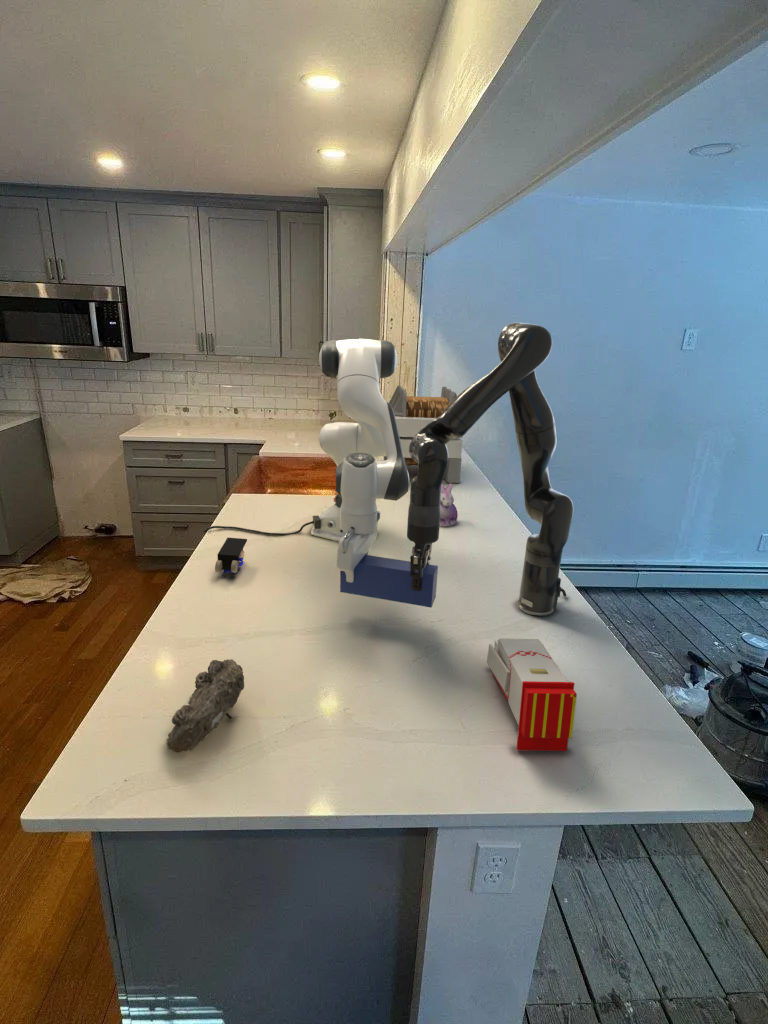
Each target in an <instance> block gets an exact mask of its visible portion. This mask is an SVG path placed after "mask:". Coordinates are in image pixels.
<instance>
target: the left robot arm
mask: <svg viewBox="0 0 768 1024" xmlns="http://www.w3.org/2000/svg"><path fill="white" fill-rule="evenodd" d="M318 364H319V367H320V369H321V372H322V374H323V375H324V376H325V377H327V378H331V379H334V380H335V379H337V382H336V391H337V392H336V393H337V400H338V404H339V406H340V407H339V408H341V410H342V412H343V413H344V414H345V416H347V417H348V418H350V419H352V420H353V421H355V422H348V421H336V422H330V423H325V424H324V425H323V426H322V427H321V429H320V431H319V434H318V442H319V446H320V448H321V450H322V451H323V452H324V453H325V454H327V455H328V456H329V457H330V459H332V461H333V462H334V464H335V465H336V468H335V470H334V471H335V472H334V473H335V474H334V475H335V488H334V491H335V492H336V493H337V494H336V495H335V496H334V497H333V502H334V504H333V505H331V506H329V507H328V508H326V509H325V510H323V512H321V514H320V515H312V521H309V522H306V523H303V524H302V525H301V526H300V528H299V529H298V530H296V531H294V532H293V531H292V532H288V533H286V532H285V533H283V532H267V531H260V530H255V529H250V528H245V527H239V526H228V525H227V526H226V525H225V526H223V525H212V526H209V527H206V528H205V529H204V530H203V533H207V532H208V531H210V530H212V529H227V530H228V529H229V530H239V531H244V532H250V533H256V534H261V535H267V536H290V535H296V534H299V533H301V532H302V531H303V529H304V528H305V527H307V526H309V525H312V528H311V530H310V533H311V536H315V537H319V538H323V539H326V540H330V541H336V542H338V546H337V555H336V556H337V557H336V568H337V570H338V571H340V570H341V571H345V574H346V581H347V582H351V583H352V582H353V581H354V580H355V574H354V568H355V567H356V565H357V564H358V563H359V562H360V560H361V559H362V558H363V557H364V556H365V555H369V554H370V550H371V548H372V547H373V546H374V545H375V543H376V541H377V535H378V526H379V520H380V519H381V511H379V510H378V506H377V503H376V500H377V499H378V500H379V499H381V500H387V501H396V502H397V501H399V500H400V499H401V498H402V497H404V496H405V495H406V494H407V493H408V492H409V488H410V484H411V483H410V482H411V481H410V475H409V471H408V467H407V465H406V463H405V460H404V456H403V452H402V447H401V442H400V437H399V432H398V427H397V423H396V419H395V415H394V411H393V408H392V406H391V404H390V403H389V402H388V401H386V399H384V397H383V395H382V393H381V390H380V379H387V378H389V377H391V376H392V375H393V374H394V373H395V370H396V368H397V365H398V353H397V351H396V348H395V345H394V343H392V342H391V341H389V340H385V339H381V340H377V339H371V338H357V339H356V338H351V339H340V340H336V339H330V340H327V341H325V342H323V344H321V348H320V351H319V355H318ZM384 456H387V460H385V461H384V460H376V458H382V457H383V458H384Z"/></svg>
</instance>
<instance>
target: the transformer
mask: <svg viewBox="0 0 768 1024" xmlns="http://www.w3.org/2000/svg"><path fill="white" fill-rule="evenodd" d="M440 393H441V394H440V396H415V395H414V396H413V395H412V396H411V395H407V394H408V393H407V390H406V389H404V388H403V387H402V385H399V384H398V385H397V386H396V388H395V390H394V392H393V394H392V395H391V398H390V400H389V402H388V403H390V404H391V406H392V408H393V411H394V415H395V419H396V423H397V427H398V432H399V437H400V442H401V447H402V452H403V456H404V460H405V463H406V467H407V466H411V467H412V466H413V467H415V466H416V467H418V463H417V462H416V461H414V460H413V459H412V457H411V456H410V453H409V445H410V443H411V441H412V439H413V437H414V436H415V435H416V434H417V433H418V432H419V431H420V430H421V429H422V428H424V427H425V426H426V425H428V424H429V423H430V422H431V421H433V420H434V419H436V418H437V417H439V416H440V415H441V414H442V413H443V411H444V410H445V409H446V408H447V407H448V406H449V405H450V404H451V403H452V402H453V400H454V399H455V398H456V397H457V396H458V395H457V392H455V391H453V390H452V389H451V388H447V386H442V387H441V392H440ZM463 438H464V436H462V437H461V438H458V439H452V440H450V441H449V442H448V443H447V444H445V445H446V446H447V449H448V465H447V469H446V472H445V476H444V479H445V481H446V482H447V483H449V484H450V483H452V484H455V483H456V484H459V483H461V472H462V461H463V460H462V453H463V442H464V441H463V440H462V439H463ZM385 460H387V456H383V461H385Z"/></svg>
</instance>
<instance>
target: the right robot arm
mask: <svg viewBox="0 0 768 1024" xmlns="http://www.w3.org/2000/svg"><path fill="white" fill-rule="evenodd" d="M552 348H553V338H552V335H551V332H550V331H549V330H548V329H547V328H546V327H544V326H542V325H539V324H535V323H527V322H511V323H509V324H507V325H506V326H505V327H504V328H503V329H502V330H501V332H500V334H499V336H498V340H497V352H498V356H499V361H500V363H499V364H498V365H497V366H496V367H494V368H493V369H492V370H490V371H489V372H488V373H487V374H486V375H484V376H483V377H481V378H480V379H478V380H477V381H475V382H474V383H472V384H471V385H469V386H468V387H466V388H465V389H464V390H463V391H462V392H460V393H459V394H458V395H457V397H456V398H455V399H454V400H453V402H452V403H451V404H450V405H449V406H448V407H447V408H446V409H445V410H444V411H443V413H442V414H441V415H440V416H439V417H437V418H436V419H434V420H433V421H431V422H430V423H429V424H428V425H426V426H425V427H424V428H422V429H421V430H420V431H419V432H418V433H417V434H416V435H415V436H414V437H413V439H412V441H411V443H410V445H409V453H410V456H411V457H412V459H413V460H414V461H416V462H417V463H418V466H417V473H416V475H415V476H414V477H413V478H411V481H410V482H411V483H410V491H409V492H410V493H409V504H408V509H407V528H406V538H407V539H408V540H409V541H410V542H413V543H414V546H412V550H411V555H410V558H409V559H410V560H409V561H410V577H413V583H412V590H414V591H421V590H422V578H423V571H424V568H425V567H426V565H427V564H430V561H431V559H432V551H433V549H432V548H433V544H434V543H436V542H437V541H439V538H440V527H441V526H440V514H441V510H440V499H441V485H442V484H443V482H444V479H445V478H444V476H445V472H446V469H447V465H448V449H447V446H446V445H445V444H447V443H448V442H449V441H450V440H452V439H458V438H460V439H462V438H461V437H462V436H463V437H464V436H465V435H466V434H467V433H468V432H469V431H470V430H471V429H472V428H473V426H474V425H475V424H476V423H477V422H478V421H479V419H481V418H482V417H483V415H484V414H485V413H486V412H487V411H489V409H490V408H491V407H492V406H494V404H495V403H497V402H498V401H499V400H500V399H501V398H502V397H504V395H506V394H507V393H508V394H509V400H510V408H511V412H512V417H513V425H514V432H515V436H516V443H517V447H518V452H519V457H520V459H519V460H520V466H521V470H522V471H521V472H522V479H523V497H524V507H525V511H526V512H525V513H526V514H527V515H528V517H529V518H530V519H531V520H532V521H535V522H536V523H538V524H540V529H539V533H534V534H530V535H529V536H528V537H527V539H526V543H525V544H526V545H525V551H524V559H523V567H522V573H521V579H520V588H519V593H518V594H519V595H518V599H517V608H518V609H519V610H520V611H521V612H524V613H525V614H528V615H531V616H537V617H545V616H550V615H552V614H553V613H554V612H556V611H557V607H558V601H559V598H560V597H561V593H562V596H563V597H567V593H566V590H565V589H563V588H562V586H561V583H562V579H561V577H559V575H560V569H561V563H562V556H563V550H564V547H565V546H566V543H568V539H569V536H570V532H571V531H570V530H571V526H572V523H573V522H572V521H573V518H574V503H573V500H572V499H571V497H569V496H568V495H566V494H564V493H563V492H559V491H557V490H555V489H553V487H552V485H551V481H550V474H549V466H550V462H551V460H552V458H553V455H554V454H555V450H556V447H557V444H558V443H557V442H558V441H557V440H558V439H557V429H556V422H555V418H554V413H553V411H552V408H551V406H550V404H549V402H548V400H547V398H546V396H545V395H544V393H543V391H542V388H541V387H540V384H539V382H538V379H537V374H536V369H537V368H539V367H540V366H541V365H543V363H544V362H545V361H546V360H547V359H548V357H549V355H550V354H551V352H552ZM422 563H423V564H422ZM415 570H418V571H419V572H415Z"/></svg>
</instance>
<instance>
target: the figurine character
mask: <svg viewBox="0 0 768 1024" xmlns="http://www.w3.org/2000/svg"><path fill="white" fill-rule="evenodd" d="M247 542H248V538H240V537H226V539H225V541H224V543H223V544H222V546H221V547H220V549H219V551H218V552H217V560H216V562H215V564H214V572H215V573H221V577H222V578H224V577H225V576H226V574H227V573H230V574H231V573H232V574H231V578H234V577H235V575H236V573H237V572H239V571H240V567H242V566H243V565H244V564H245V562H244V558H245V551H244V547H245V546H246V544H247Z"/></svg>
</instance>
